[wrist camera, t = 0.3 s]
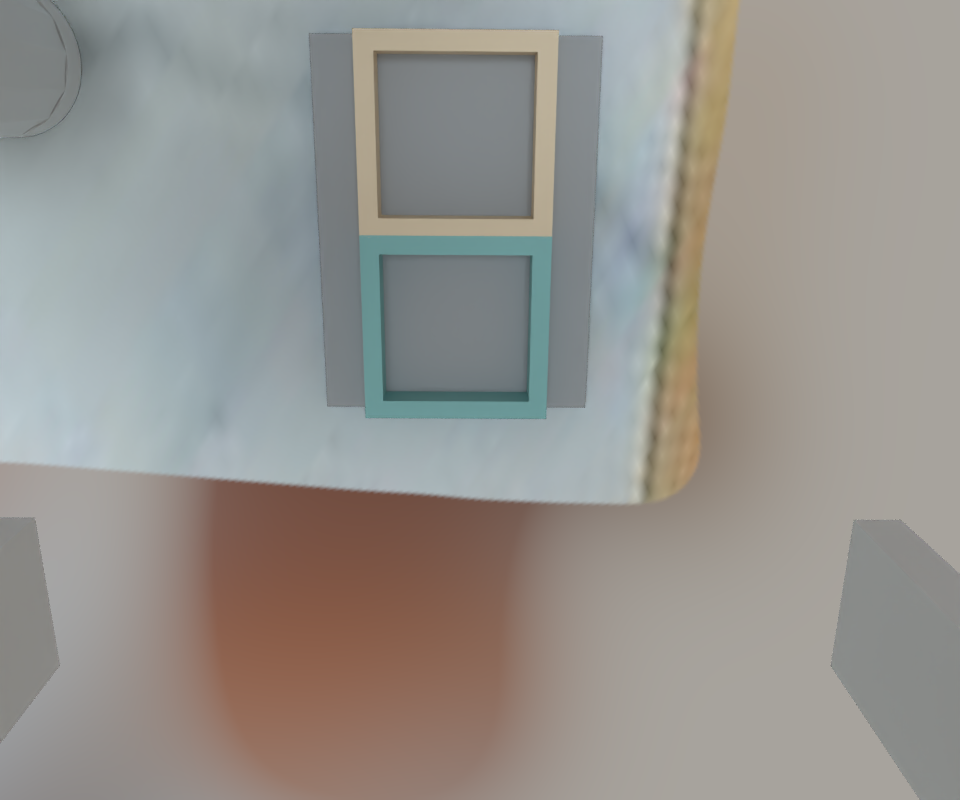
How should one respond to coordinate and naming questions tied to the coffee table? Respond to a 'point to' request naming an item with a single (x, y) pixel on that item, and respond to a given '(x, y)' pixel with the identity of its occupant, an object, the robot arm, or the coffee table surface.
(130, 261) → the coffee table surface
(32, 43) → the cup
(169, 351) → the coffee table surface
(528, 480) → the coffee table surface
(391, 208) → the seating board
